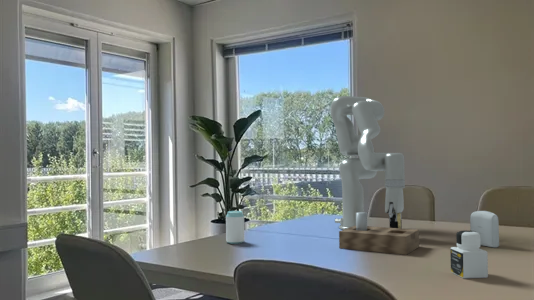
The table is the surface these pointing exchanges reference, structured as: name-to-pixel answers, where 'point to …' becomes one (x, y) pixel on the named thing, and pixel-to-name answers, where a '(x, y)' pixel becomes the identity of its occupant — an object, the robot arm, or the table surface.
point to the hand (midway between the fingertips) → (395, 230)
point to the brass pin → (399, 219)
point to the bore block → (380, 239)
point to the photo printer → (486, 227)
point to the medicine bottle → (469, 256)
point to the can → (234, 227)
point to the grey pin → (361, 221)
